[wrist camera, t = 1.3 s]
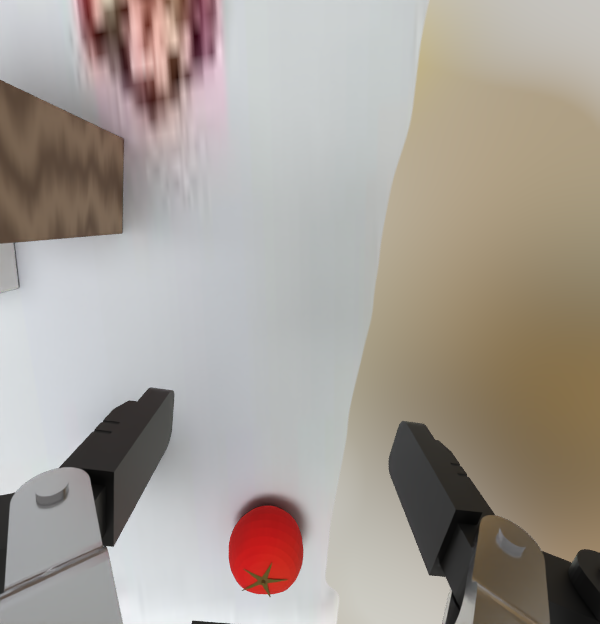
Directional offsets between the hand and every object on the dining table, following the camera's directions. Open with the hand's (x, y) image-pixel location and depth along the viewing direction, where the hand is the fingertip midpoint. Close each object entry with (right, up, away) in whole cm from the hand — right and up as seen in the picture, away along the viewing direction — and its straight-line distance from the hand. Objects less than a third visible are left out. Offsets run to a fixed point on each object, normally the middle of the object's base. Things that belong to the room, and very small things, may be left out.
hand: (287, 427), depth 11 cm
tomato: (-6, -36, +48) cm, 61 cm away
